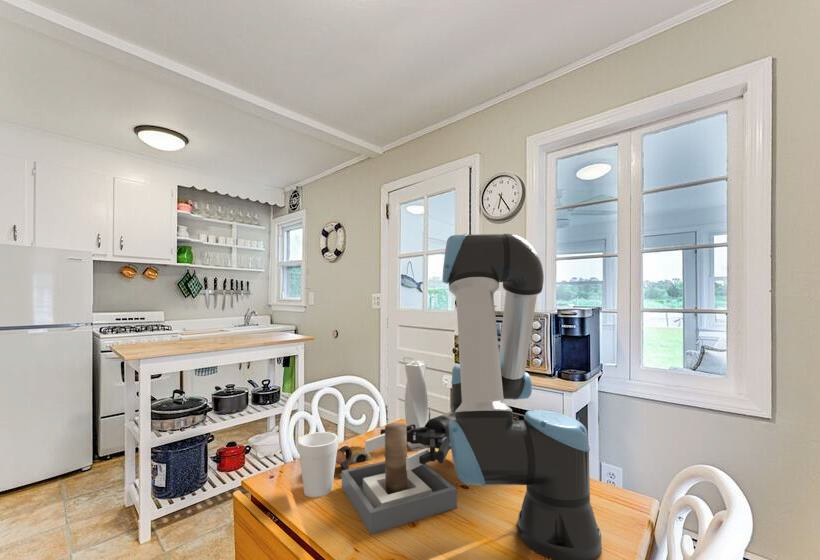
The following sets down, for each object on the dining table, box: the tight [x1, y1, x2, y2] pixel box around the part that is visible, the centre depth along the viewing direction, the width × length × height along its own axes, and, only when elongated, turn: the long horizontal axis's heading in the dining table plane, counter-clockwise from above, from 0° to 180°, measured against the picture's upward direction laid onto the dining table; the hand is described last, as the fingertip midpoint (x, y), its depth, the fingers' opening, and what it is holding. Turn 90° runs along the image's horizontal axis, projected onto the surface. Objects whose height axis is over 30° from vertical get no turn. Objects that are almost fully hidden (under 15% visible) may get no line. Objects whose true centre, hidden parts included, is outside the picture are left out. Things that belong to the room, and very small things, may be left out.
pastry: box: [348, 445, 372, 465], centre depth 109 cm, size 9×7×4 cm
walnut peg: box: [384, 422, 408, 495], centre depth 86 cm, size 5×5×16 cm
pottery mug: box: [335, 445, 352, 480], centre depth 100 cm, size 12×10×8 cm
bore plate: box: [363, 470, 432, 508], centre depth 86 cm, size 12×12×3 cm
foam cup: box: [297, 431, 339, 498], centre depth 90 cm, size 10×9×13 cm
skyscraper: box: [402, 356, 432, 452], centre depth 118 cm, size 8×8×28 cm
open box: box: [341, 455, 458, 535], centre depth 86 cm, size 20×20×5 cm
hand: (385, 455), depth 84 cm, fingers open, 13 cm apart
